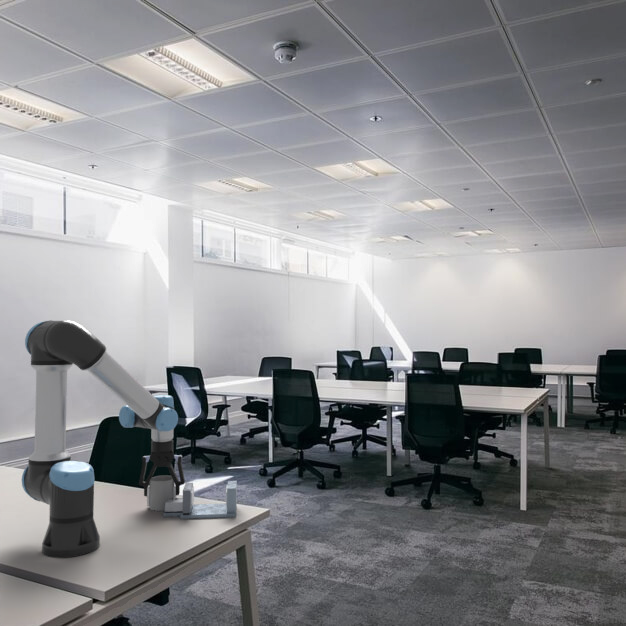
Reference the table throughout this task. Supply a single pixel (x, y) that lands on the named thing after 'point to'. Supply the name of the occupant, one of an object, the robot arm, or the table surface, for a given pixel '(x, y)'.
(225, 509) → the vise base
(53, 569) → the table surface
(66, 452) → the robot arm
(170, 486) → the cup
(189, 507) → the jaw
